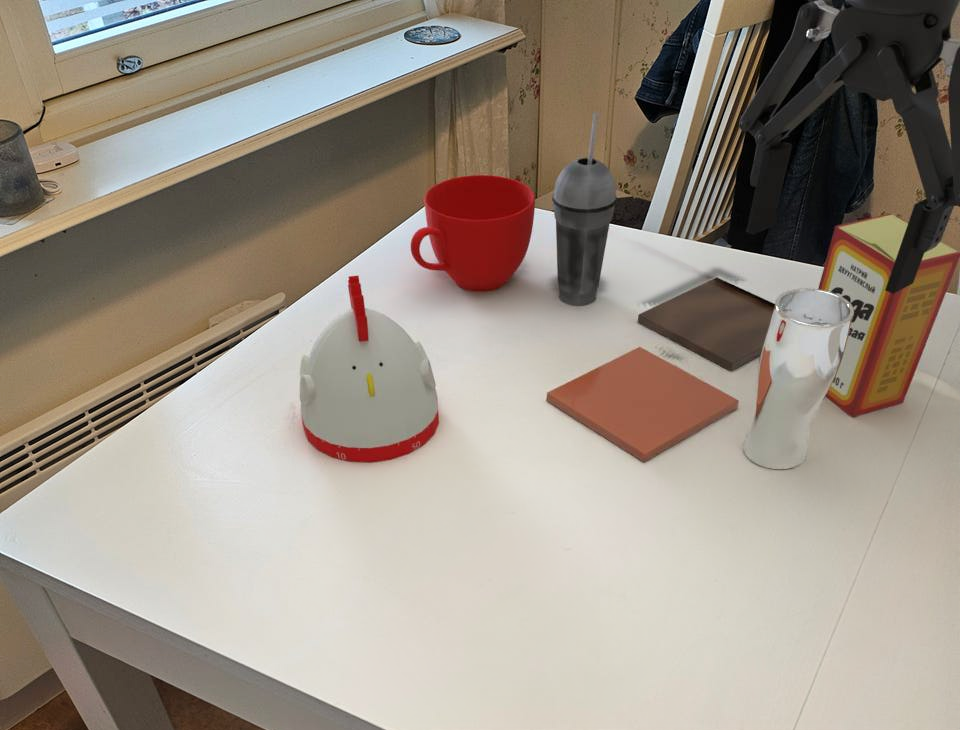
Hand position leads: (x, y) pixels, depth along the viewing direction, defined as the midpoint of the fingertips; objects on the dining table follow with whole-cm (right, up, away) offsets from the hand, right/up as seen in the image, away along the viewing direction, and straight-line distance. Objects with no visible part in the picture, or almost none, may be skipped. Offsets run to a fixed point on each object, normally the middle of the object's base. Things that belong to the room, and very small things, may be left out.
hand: (825, 257), depth 74 cm
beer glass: (0, -13, +15) cm, 20 cm away
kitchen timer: (-40, -9, +19) cm, 45 cm away
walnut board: (0, +5, +31) cm, 31 cm away
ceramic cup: (-30, +13, +38) cm, 50 cm away
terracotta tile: (-12, -7, +20) cm, 24 cm away
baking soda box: (+11, -5, +22) cm, 25 cm away
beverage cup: (-17, +10, +36) cm, 41 cm away
